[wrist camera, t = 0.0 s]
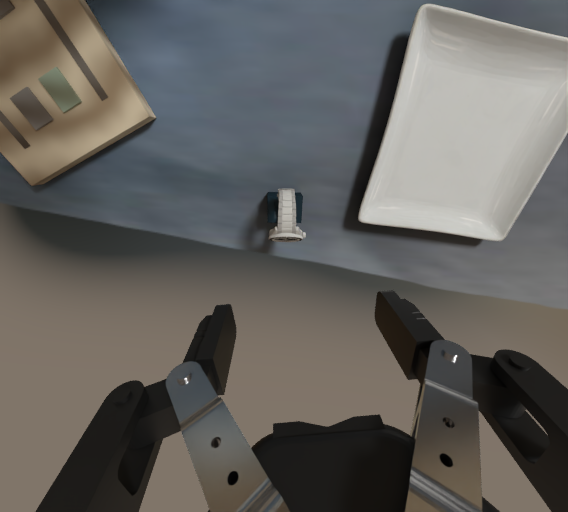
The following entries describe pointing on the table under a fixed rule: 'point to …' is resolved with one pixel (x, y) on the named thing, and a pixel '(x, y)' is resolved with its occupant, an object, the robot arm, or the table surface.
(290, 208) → the watch
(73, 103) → the switch board
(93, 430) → the robot arm
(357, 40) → the table surface
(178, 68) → the table surface
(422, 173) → the square plate
